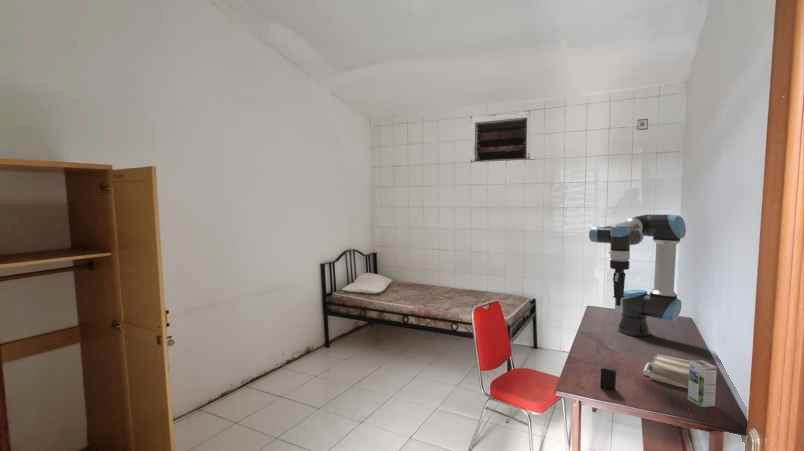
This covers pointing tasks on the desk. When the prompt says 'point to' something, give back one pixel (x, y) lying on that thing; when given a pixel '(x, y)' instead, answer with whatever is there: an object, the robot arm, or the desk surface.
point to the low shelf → (670, 370)
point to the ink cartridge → (608, 378)
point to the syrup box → (702, 383)
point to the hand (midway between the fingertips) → (618, 312)
